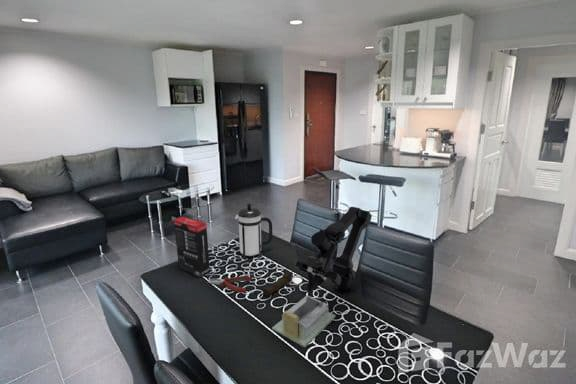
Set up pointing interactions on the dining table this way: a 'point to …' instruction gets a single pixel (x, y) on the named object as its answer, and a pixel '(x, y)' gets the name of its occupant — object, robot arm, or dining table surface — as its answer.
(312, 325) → the board
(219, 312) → the dining table surface
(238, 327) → the dining table surface
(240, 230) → the coffee press
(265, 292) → the hand tool
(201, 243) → the graphics card box
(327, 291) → the dining table surface
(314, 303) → the dark grey flat bar
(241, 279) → the pliers
